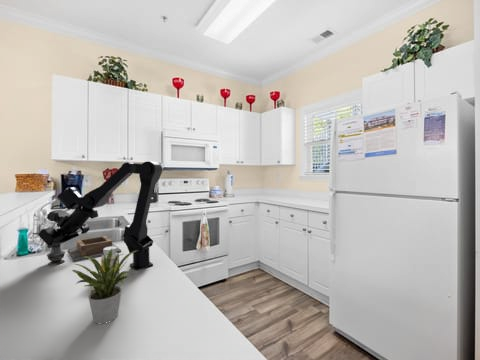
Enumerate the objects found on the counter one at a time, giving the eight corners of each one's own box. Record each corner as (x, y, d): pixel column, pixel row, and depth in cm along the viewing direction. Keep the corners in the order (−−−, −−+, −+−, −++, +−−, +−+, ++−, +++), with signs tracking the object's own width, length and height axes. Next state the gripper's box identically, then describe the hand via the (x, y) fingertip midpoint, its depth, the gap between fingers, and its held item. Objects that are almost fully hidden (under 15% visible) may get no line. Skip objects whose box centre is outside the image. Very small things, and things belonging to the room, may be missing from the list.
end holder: (121, 251, 106) (121, 241, 106) (74, 261, 95) (74, 249, 95) (110, 242, 120) (109, 233, 119) (68, 250, 108) (68, 239, 108)
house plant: (125, 293, 70) (124, 238, 70) (151, 311, 61) (150, 247, 61) (67, 316, 59) (65, 251, 59) (88, 342, 50) (86, 265, 50)
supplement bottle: (117, 278, 80) (117, 249, 80) (99, 280, 79) (99, 251, 78) (120, 271, 86) (120, 244, 85) (103, 273, 84) (103, 246, 84)
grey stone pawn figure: (58, 265, 91) (57, 234, 90) (42, 265, 91) (41, 234, 91) (69, 260, 97) (68, 230, 96) (54, 260, 97) (53, 230, 96)
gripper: (81, 200, 102) (58, 225, 103) (41, 206, 83) (13, 237, 85) (100, 218, 101) (76, 244, 103) (63, 229, 83) (35, 260, 84)
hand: (52, 245), depth 94 cm, fingers closed on grey stone pawn figure, 3 cm apart
